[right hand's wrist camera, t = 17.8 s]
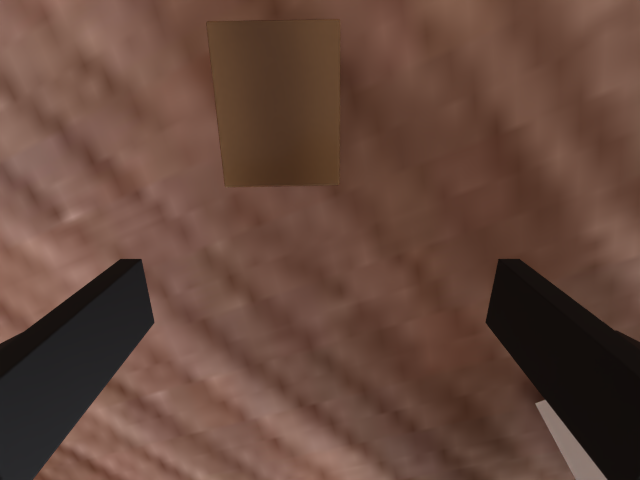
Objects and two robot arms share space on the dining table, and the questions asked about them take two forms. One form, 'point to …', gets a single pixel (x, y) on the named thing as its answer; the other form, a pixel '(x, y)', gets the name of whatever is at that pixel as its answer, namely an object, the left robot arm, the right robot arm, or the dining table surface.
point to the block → (277, 101)
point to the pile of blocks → (569, 446)
